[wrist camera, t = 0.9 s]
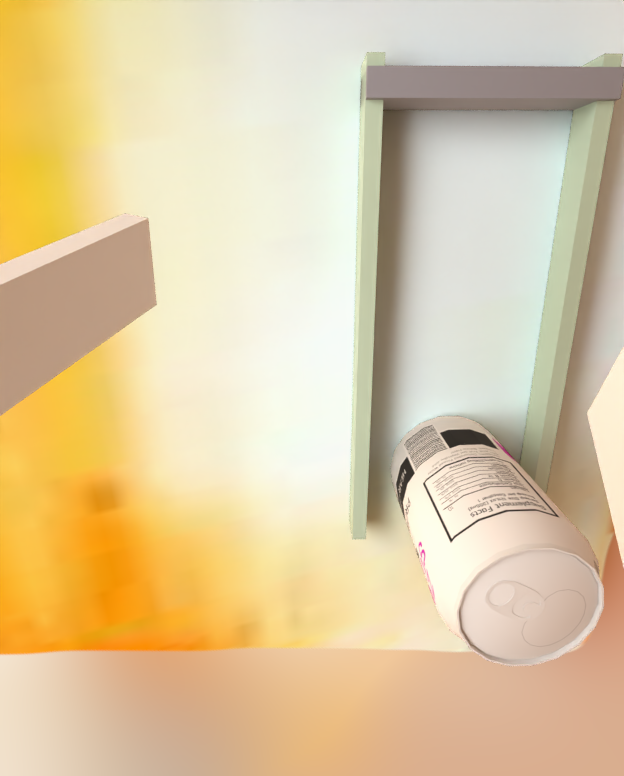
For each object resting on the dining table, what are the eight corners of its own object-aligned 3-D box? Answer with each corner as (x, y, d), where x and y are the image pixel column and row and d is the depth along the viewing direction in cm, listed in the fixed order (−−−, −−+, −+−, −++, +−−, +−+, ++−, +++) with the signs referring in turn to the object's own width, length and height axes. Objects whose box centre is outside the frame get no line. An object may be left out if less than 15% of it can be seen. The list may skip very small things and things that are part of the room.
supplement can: (517, 441, 37) (654, 579, 23) (455, 524, 39) (544, 697, 25) (427, 393, 35) (513, 507, 21) (368, 481, 38) (411, 639, 23)
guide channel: (361, 66, 29) (368, 49, 26) (596, 67, 29) (628, 50, 26) (349, 519, 39) (353, 543, 36) (524, 517, 39) (541, 540, 36)
